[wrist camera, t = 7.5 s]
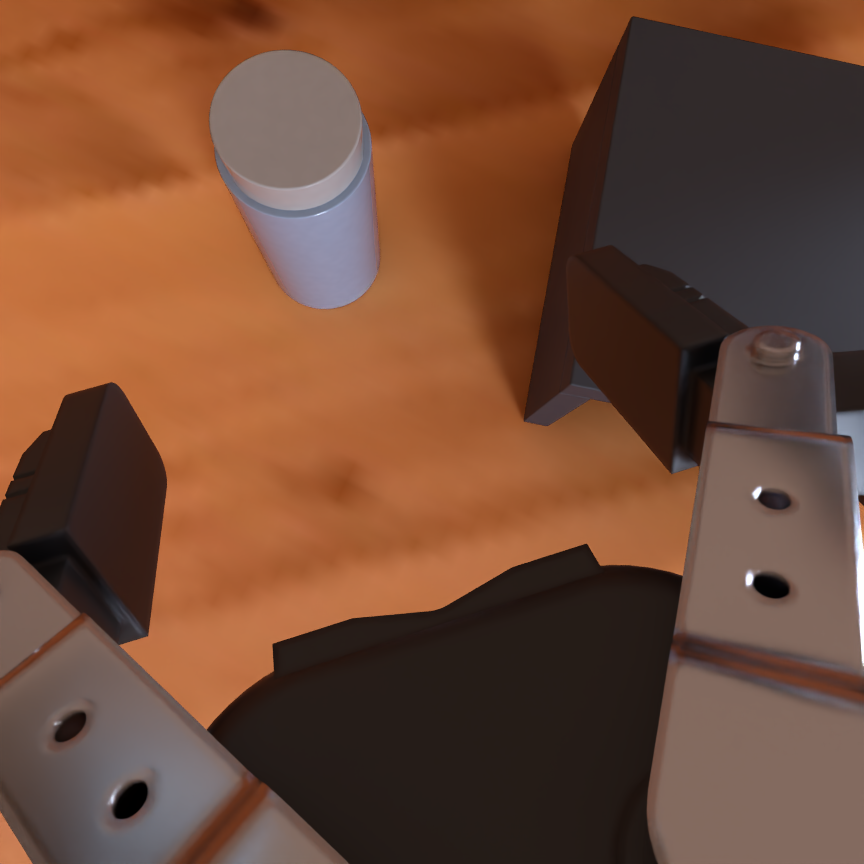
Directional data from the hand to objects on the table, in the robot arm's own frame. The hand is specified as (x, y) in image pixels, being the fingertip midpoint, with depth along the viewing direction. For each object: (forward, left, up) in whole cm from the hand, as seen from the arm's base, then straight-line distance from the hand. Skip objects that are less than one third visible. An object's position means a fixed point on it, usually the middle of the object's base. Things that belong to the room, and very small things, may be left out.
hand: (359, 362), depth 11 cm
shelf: (-8, +12, -14) cm, 20 cm away
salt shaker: (-7, -4, -14) cm, 16 cm away
